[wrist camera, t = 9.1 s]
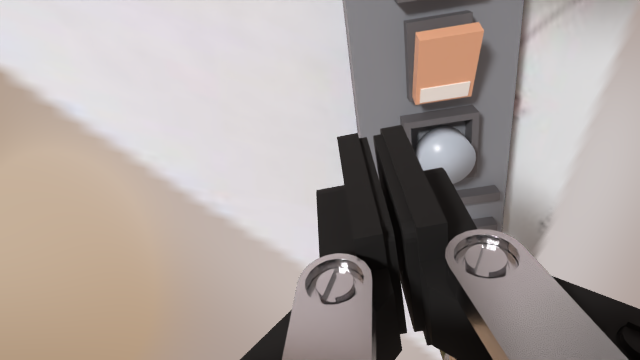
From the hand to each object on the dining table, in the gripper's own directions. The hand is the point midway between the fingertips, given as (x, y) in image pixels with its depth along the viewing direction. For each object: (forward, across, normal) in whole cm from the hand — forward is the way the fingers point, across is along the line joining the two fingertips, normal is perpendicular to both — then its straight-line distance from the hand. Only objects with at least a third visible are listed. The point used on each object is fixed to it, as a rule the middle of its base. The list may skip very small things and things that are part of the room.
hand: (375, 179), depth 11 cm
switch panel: (+23, -7, +8) cm, 25 cm away
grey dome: (+19, -7, +11) cm, 23 cm away
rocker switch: (+18, -7, +4) cm, 20 cm away
